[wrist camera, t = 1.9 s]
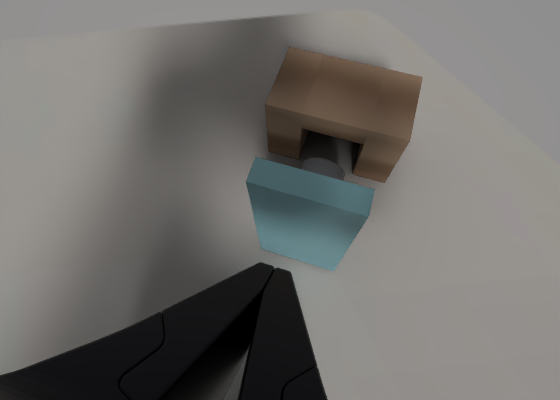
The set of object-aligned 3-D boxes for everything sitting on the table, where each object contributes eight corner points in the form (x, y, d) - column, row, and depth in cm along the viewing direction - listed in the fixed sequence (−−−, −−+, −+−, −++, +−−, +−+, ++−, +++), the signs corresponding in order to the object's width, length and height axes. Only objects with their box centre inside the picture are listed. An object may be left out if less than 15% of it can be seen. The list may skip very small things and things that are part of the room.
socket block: (384, 182, 25) (409, 140, 20) (268, 151, 26) (265, 104, 21) (396, 127, 27) (422, 77, 22) (288, 100, 28) (289, 46, 23)
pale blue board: (332, 272, 22) (368, 216, 13) (261, 249, 23) (245, 181, 14) (354, 190, 25) (397, 94, 15) (288, 172, 25) (291, 69, 16)
